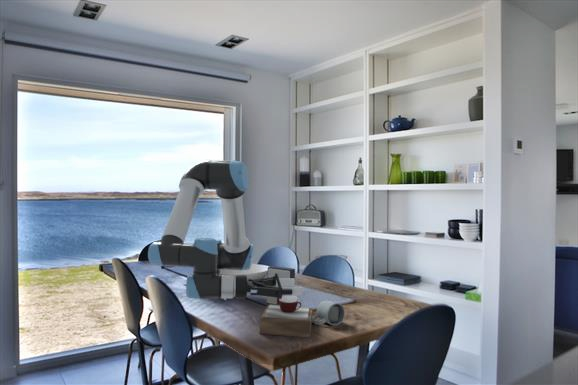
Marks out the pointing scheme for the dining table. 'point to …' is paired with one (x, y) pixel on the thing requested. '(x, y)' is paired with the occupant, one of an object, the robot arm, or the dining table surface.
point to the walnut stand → (286, 321)
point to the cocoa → (287, 300)
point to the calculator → (282, 274)
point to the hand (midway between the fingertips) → (298, 286)
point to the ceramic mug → (329, 313)
